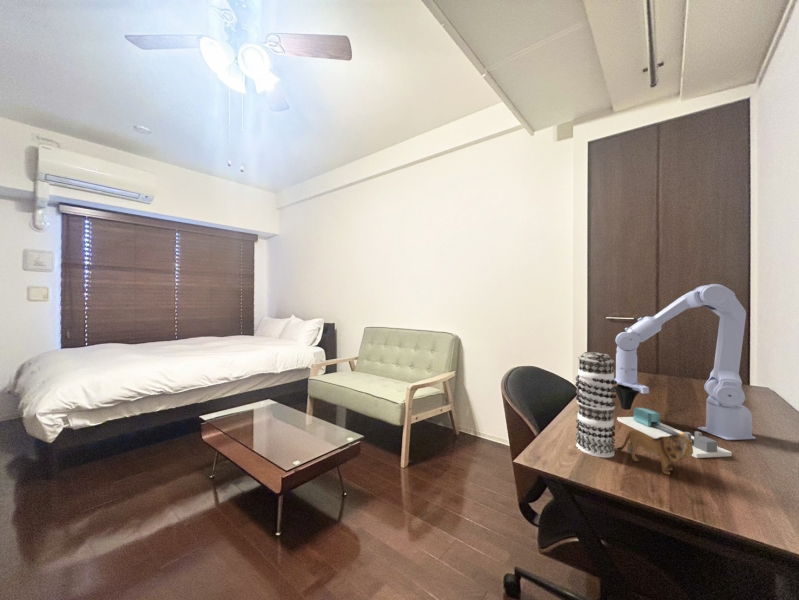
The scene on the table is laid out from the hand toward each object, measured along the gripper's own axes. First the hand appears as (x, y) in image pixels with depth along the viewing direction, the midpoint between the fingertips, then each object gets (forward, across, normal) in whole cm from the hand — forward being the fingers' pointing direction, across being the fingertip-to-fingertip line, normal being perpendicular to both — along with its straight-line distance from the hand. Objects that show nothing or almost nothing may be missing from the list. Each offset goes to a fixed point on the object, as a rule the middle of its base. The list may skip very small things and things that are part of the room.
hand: (626, 408), depth 102 cm
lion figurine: (+3, +28, -18) cm, 33 cm away
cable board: (+3, +14, 0) cm, 15 cm away
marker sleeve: (+2, +7, 0) cm, 8 cm away
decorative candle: (+3, +19, -27) cm, 33 cm away
